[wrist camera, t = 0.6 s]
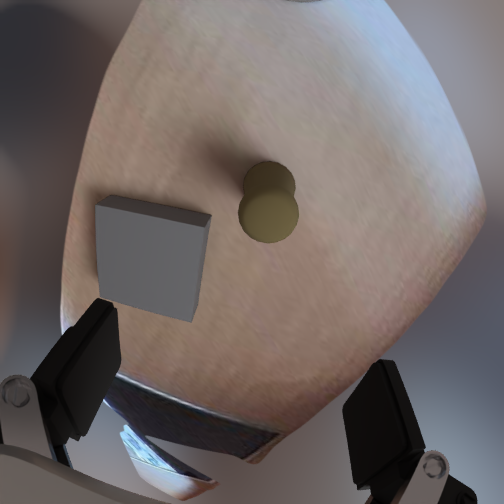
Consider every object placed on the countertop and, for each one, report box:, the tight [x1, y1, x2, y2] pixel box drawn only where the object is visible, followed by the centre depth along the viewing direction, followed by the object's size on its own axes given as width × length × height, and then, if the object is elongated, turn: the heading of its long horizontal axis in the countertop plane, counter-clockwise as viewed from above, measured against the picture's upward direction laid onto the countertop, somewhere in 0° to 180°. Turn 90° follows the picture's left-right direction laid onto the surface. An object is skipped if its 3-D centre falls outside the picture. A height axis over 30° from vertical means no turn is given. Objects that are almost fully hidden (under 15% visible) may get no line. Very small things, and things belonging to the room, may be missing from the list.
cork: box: [238, 161, 299, 243], centre depth 28 cm, size 6×6×11 cm
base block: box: [95, 195, 212, 323], centre depth 36 cm, size 14×14×4 cm
